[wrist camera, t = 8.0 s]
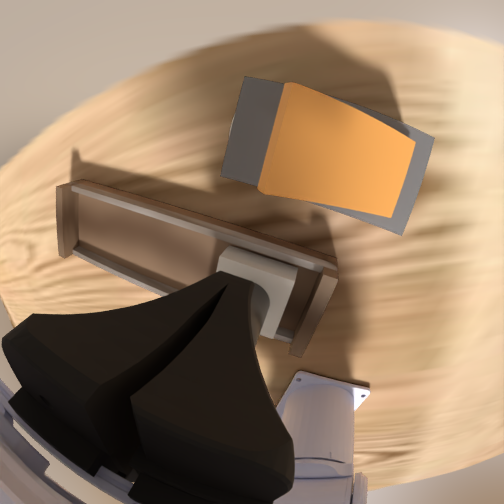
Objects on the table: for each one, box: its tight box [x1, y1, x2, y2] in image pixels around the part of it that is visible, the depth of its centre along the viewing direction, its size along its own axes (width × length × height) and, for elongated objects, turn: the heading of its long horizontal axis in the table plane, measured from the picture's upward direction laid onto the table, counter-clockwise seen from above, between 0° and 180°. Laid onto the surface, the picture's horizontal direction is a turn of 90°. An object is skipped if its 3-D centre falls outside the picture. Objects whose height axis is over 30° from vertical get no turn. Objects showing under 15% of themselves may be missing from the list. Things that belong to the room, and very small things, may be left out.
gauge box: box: [220, 76, 435, 236], centre depth 15 cm, size 6×10×5 cm, turn 76°
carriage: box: [216, 245, 298, 346], centre depth 17 cm, size 5×5×7 cm
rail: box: [56, 179, 339, 358], centre depth 21 cm, size 7×24×3 cm, turn 76°
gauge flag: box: [257, 82, 416, 218], centre depth 10 cm, size 4×7×1 cm
